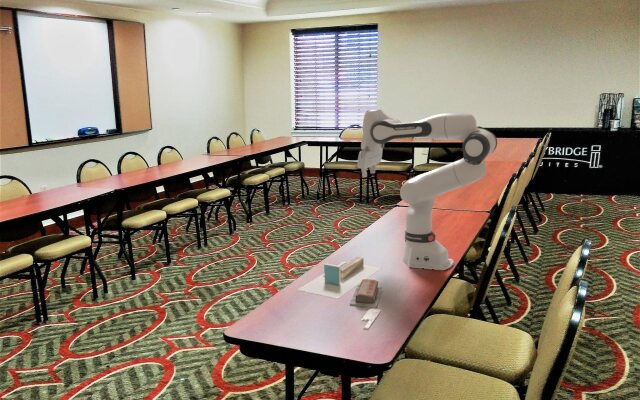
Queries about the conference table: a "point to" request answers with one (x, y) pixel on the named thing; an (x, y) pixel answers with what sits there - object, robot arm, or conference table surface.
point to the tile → (332, 274)
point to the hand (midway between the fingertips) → (368, 175)
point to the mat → (346, 285)
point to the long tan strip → (351, 267)
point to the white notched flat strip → (370, 317)
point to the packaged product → (366, 294)
